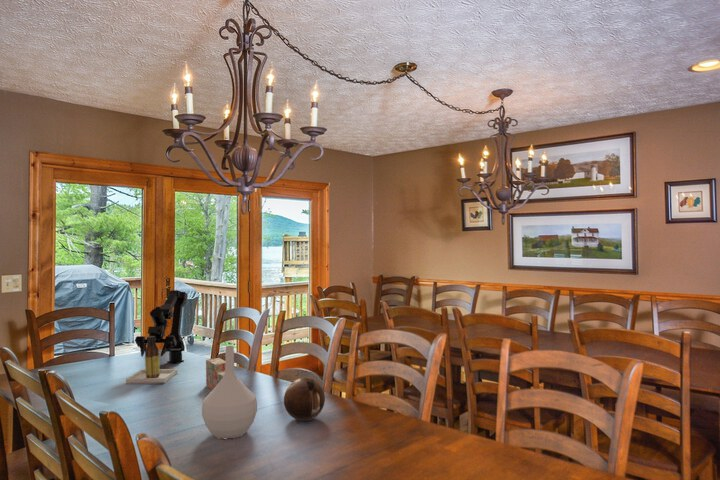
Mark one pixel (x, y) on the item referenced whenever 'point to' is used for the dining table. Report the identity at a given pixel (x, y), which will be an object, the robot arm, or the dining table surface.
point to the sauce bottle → (152, 358)
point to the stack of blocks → (214, 372)
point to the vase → (229, 404)
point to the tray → (142, 379)
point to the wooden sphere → (304, 399)
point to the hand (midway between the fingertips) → (151, 356)
